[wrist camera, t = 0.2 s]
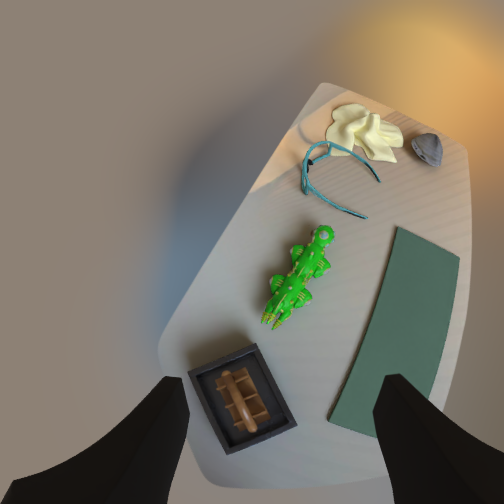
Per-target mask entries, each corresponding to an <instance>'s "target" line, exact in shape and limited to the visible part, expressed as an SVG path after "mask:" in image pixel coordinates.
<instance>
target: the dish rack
mask: <svg viewBox="0 0 504 504" xmlns="http://www.w3.org/2000/svg"><path fill="white" fill-rule="evenodd" d="M215 381H216V384H217V386H218V388H216V389H217V390H220V392H221V394H222V396H223V399H224V401H225V403H226V406H225V408H228V409H229V411H230V413H231V415H232V417H233V419H234V421H235V423H234V424H233V425H234V426H236V425H237V427H238V429H239V431H240V432H241V431H243V430H246V429H248V431H249V432H255V431H256V430H257V425H258V424H260V423H262V422H265V421H267V420H269V419H271V417H270V415H269V413H268V411H267V409H266V407H265V406H264V404H263V402H262V400H261V398H260V396H259V394H258V392H257V390H256V388H255V385H254V383H253V381H252V379H251V377H250V375H249V373H248V371H247V369H246V367H244V368H242V369H239V370H237V371H235V372H232V373H231V372H230V371H227V370H226V371H223V372H222V377H221V378H218V379H216V380H215Z"/></svg>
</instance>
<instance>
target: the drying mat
mask: <svg viewBox="0 0 504 504" xmlns="http://www.w3.org/2000/svg"><path fill="white" fill-rule="evenodd" d="M459 260H460V257H458V256H456V255H454V254H452V253H450V252H448V251H446V250H445V249H443V248H441V247H439V246H437V245H435V244H433V243H431V242H429V241H427V240H425V239H423V238H421V237H419V236H417V235H415V234H413V233H411V232H409V231H407V230H405V229H402V228H400V227H398V228H397V231H396V235H395V239H394V243H393V247H392V251H391V255H390V258H389V262H388V265H387V269H386V272H385V276H384V279H383V283H382V286H381V289H380V292H379V295H378V299H377V302H376V305H375V308H374V311H373V314H372V317H371V319H370V322H369V325H368V328H367V331H366V333H365V336H364V339H363V341H362V344H361V347H360V349H359V352H358V354H357V357H356V359H355V362H354V364H353V367H352V369H351V371H350V374H349V376H348V378H347V381H346V383H345V385H344V388H343V390H342V392H341V394H340V396H339V399H338V401H337V403H336V405H335V407H334V409H333V411H332V413H331V415H330V418H329V420H328V422H331V423H333V424H336V425H339V426H342V427H345V428H347V429H350V430H353V431H356V432H359V433H362V434H365V435H369V436H372V437H375V438H377V435H376V430H375V425H374V419H373V413H372V411H373V408H374V406H375V403H376V400H377V398H378V395H379V392H380V389H381V386H382V383H383V381H384V378H385V375H391V374H398V373H400V374H401V375H403V376H404V377H405V378H406V379H407V380H408V381H409V382H410V383H411V384H412V385H413V386H414V387H415V388H416V389H417V390H418V391H419V392H420V393H421V394H422V395H423V396H425V397H426V398H427V399H428V398H429V395H430V392H431V389H432V386H433V383H434V380H435V377H436V374H437V370H438V367H439V363H440V360H441V356H442V352H443V349H444V345H445V341H446V336H447V332H448V328H449V323H450V318H451V313H452V308H453V303H454V297H455V291H456V284H457V277H458V269H459Z"/></svg>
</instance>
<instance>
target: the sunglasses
mask: <svg viewBox="0 0 504 504" xmlns="http://www.w3.org/2000/svg"><path fill="white" fill-rule="evenodd" d="M326 143H330V144H329V149H328V153H327V154H325V155H323V156H321V157H319V158H317V159H315V160H313V161H311V160H310V159H308V157H309V155H310V153H311V151H312V150H313V149H314V148H315V147H316V146H318V145H321V144H326ZM332 147H333V148H336V149H338V150H341V151H345V152H348V153H350V154H352V155H353V156H355V157H356V158H357V159H358V160H360V161H361V162H363V163H364V164H365V165H366V166H367V167H368V168H369V169H370V170H371V171H372V173H373V174H374V175H375V177H376V179H377V180H378V182H380V183H381V181H380V179H379V177H378V176H377V174H376V172H375V171H374V170H373V168H372V167H371V166H370V165H369V164H368V163H367V162H366V161H365V160H364V159H362V158H361V157H359V156H358V155H356V154H355V153H353V152H352V151H350V150H348V149H346V148H344V147H342V146H340V145H338V144H335V143H333V142H331V141H321V142H318V143H316V144H314V145H313V146H312V147H310V149H309V150H308V151H307V153H306V156H305V159H304V161H303V168H302V188H303V191H304V193H305V194H306V195H308V190H310V191H311V192H312V193H313V194H314V195H315V196H317V197H319V198H321V199H323V200H324V201H326V202H328V203H329V204H331V205H332V206H334V207H335V208H337V209H339V210H342V211H344V212H347V213H349V214H352V215H354V216H357V217H360V218H363V219H368V217H365V216H362V215H359V214H357V213H354V212H352V211H350V210H348V209H345V208H343V207H340V206H338V205H336V204H335V203H333V202H331V201H330V200H328V199H327V198H325V197H324V196H323V195H321V194H320V193H319V192H318V191H317V190H316V189H315V188H314V187H313V186H312V185H311V184H310V182H309V179H308V176H307V173H308V171H309V167H308V164H309V165H313V163H315V162H317V161H318V160H320V159H323V158H325V157H328V156H330V153H331V150H332ZM304 178H305V179H306V186H305V185H304Z"/></svg>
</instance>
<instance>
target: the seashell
mask: <svg viewBox="0 0 504 504" xmlns="http://www.w3.org/2000/svg"><path fill="white" fill-rule="evenodd" d="M411 143H412V147H413V149H414V150H415V152H416V153H417V155H418V156H419V157H420V158H422V159H423V160H424V161H426V162H427V163H428V164H430V165H432V166H435V167H437V166H440V165H441V160H442V155H443V149H442V145H441V142H440V139H439V137H438V136H437V135H435V134H432V133H426V134H422V135H420V136H418V137H416V138H414V139H412V141H411Z"/></svg>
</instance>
